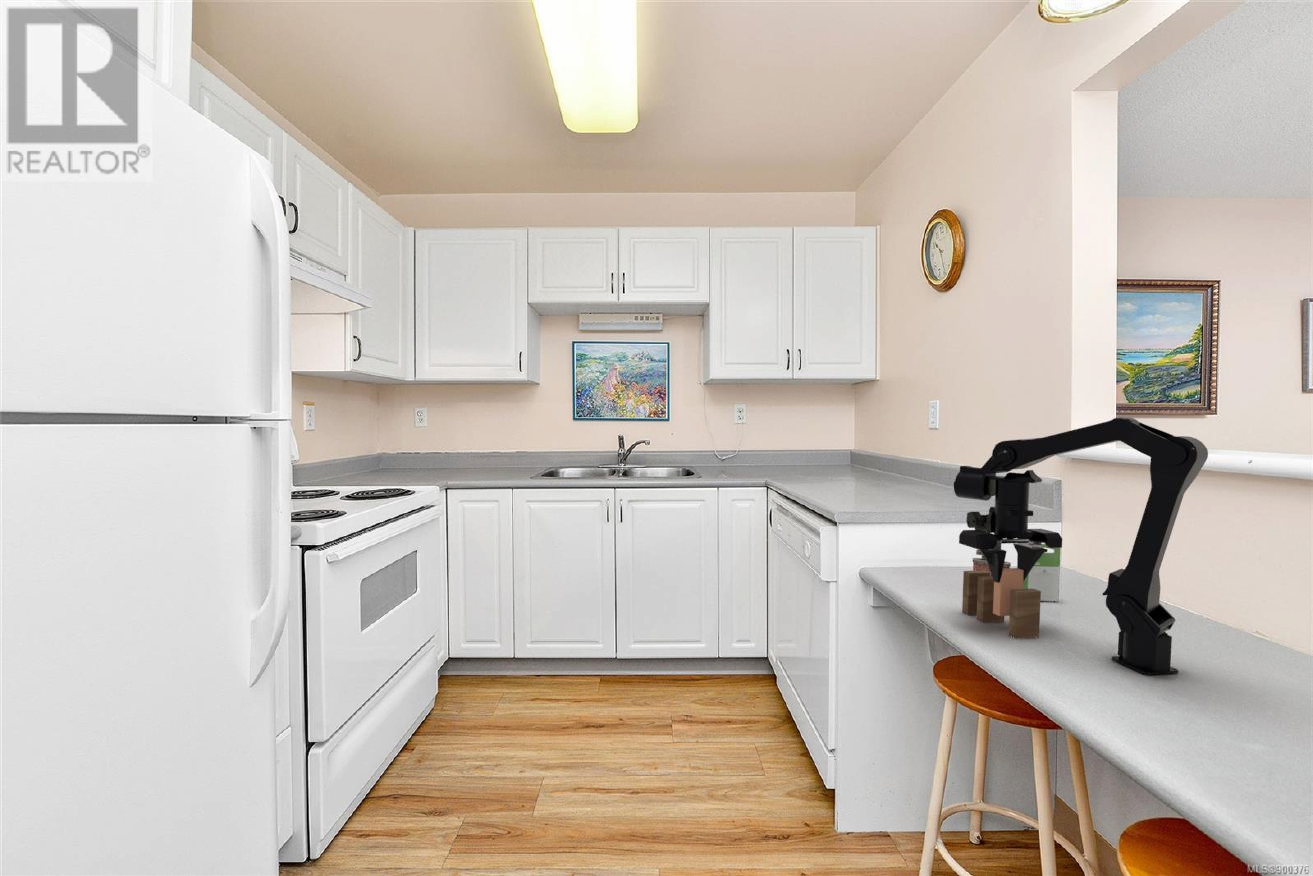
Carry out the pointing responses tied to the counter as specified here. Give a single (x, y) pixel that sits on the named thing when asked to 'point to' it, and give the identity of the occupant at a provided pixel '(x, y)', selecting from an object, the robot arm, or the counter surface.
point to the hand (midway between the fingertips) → (1008, 581)
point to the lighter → (984, 563)
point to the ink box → (1045, 575)
